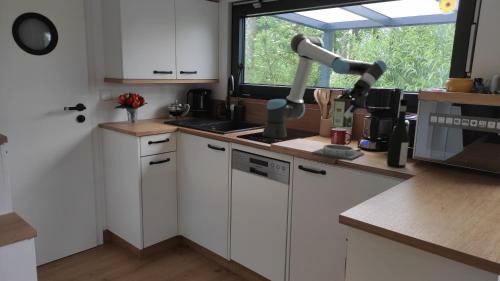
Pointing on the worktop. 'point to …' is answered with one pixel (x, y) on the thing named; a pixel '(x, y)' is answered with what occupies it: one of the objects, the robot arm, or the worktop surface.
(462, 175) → the worktop surface
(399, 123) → the wine bottle
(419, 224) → the worktop surface
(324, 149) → the dark grey flat piece
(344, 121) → the coffee can
